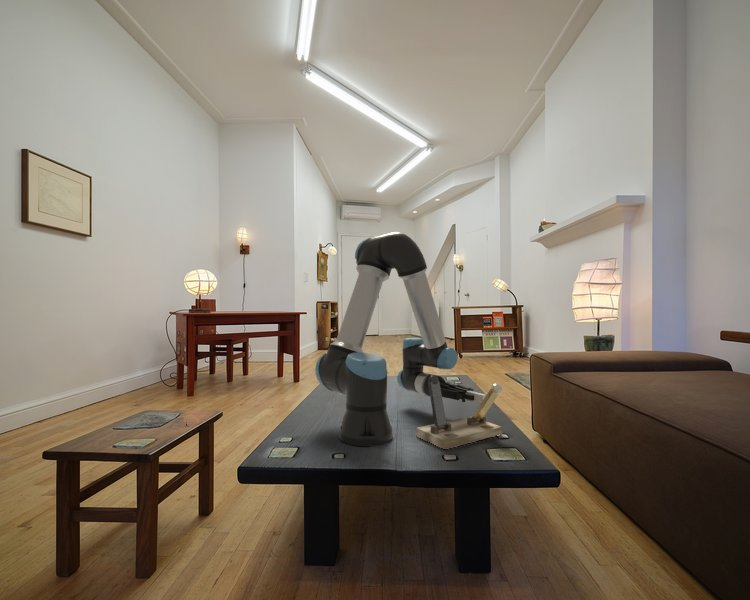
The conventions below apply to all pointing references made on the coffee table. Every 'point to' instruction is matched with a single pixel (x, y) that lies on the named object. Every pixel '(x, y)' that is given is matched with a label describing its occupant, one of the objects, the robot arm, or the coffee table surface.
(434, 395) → the lever slate
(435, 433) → the console
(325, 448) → the coffee table surface
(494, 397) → the lever brass
